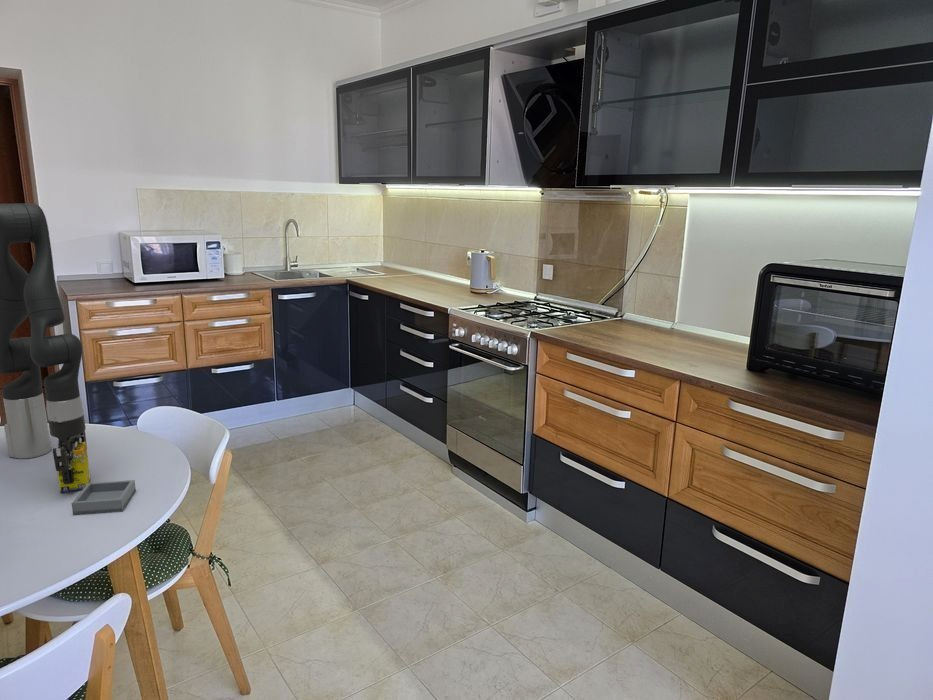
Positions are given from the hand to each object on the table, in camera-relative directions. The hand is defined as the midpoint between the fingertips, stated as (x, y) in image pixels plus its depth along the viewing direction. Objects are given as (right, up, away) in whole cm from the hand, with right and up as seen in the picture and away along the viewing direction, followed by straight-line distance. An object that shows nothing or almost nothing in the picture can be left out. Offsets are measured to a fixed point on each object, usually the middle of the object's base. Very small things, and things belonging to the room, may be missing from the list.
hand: (74, 476), depth 160 cm
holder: (+12, -5, -7) cm, 14 cm away
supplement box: (0, -3, +1) cm, 3 cm away
